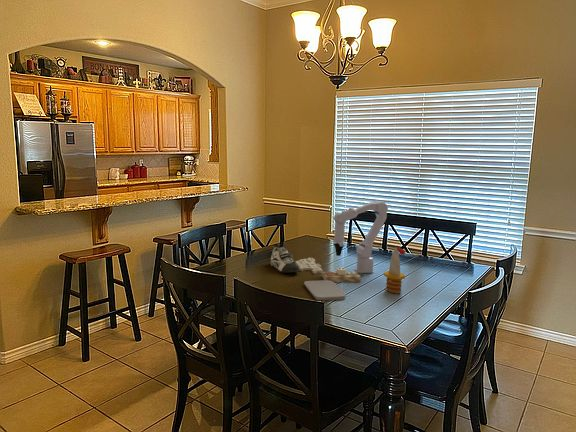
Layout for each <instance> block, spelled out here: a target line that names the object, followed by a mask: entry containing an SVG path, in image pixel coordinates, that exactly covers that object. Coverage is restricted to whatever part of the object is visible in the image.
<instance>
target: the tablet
mask: <svg viewBox="0 0 576 432" xmlns="http://www.w3.org/2000/svg"><path fill="white" fill-rule="evenodd" d="M303 284H304V286H305V288H306V289H307V290H308V292H309V293H310V294H311V295H312V296H313V298H314V299H315V300H317V301H321V300H322V301H335V300H339V301H340V300H344V299H345V297H347V294H346V293H345V291H344V290H342V288H340V286H338V285H337V284H336V282H333V281H330V280H324V279H322V280H305V281H304V283H303Z"/></svg>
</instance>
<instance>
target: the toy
mask: <svg viewBox="0 0 576 432" xmlns="http://www.w3.org/2000/svg"><path fill="white" fill-rule="evenodd" d="M405 251H406V250H404V249H402V248H400V247H398V246H395V248H394V249H393V252H392V254H391V257H390V261H389V270H387V271H384V272H383V276H384V277H386V283H385V285H386V286H385V290H386V291H387V292H388V293H392V294H401V293H402V289H401V288H402V287H403V286H402V283H403V281H402V280H403V279H406V275H405V273H402V272H401V261H400V260H401V259H400V255H402V256H403V255H405V254H406V252H405Z"/></svg>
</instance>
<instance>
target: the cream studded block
mask: <svg viewBox="0 0 576 432" xmlns="http://www.w3.org/2000/svg"><path fill="white" fill-rule="evenodd" d="M336 271H337V274H338V275H346V271H347V269H346V268H345V267H336Z"/></svg>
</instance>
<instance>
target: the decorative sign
mask: <svg viewBox="0 0 576 432" xmlns="http://www.w3.org/2000/svg"><path fill="white" fill-rule="evenodd" d="M295 263H296V265H297V266H298V267H299V271H298V272H304V271H306V270H310V271H311V272H312V274H314V275H317V274H322V272H324V270H323V269H322V268H323V267H322V265H321V264H320V263H316V259H315V258H313V257H308V258H303V259H299V260H295ZM310 271H309V272H310Z"/></svg>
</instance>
